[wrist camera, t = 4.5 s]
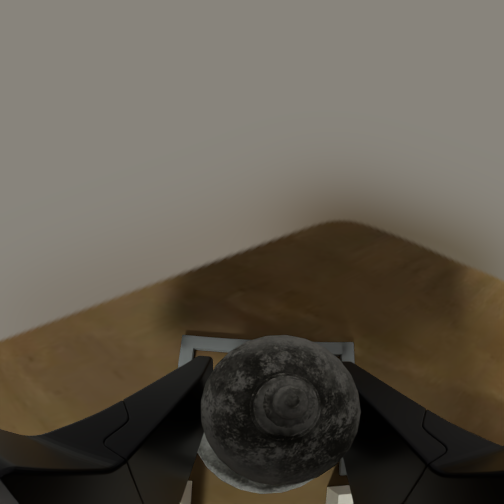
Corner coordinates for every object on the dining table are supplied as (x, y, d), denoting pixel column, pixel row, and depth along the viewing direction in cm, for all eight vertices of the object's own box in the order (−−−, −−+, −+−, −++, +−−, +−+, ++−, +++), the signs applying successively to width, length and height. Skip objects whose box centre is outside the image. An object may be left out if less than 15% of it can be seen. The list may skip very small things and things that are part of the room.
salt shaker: (273, 346, 16) (300, 157, 6) (349, 427, 13) (535, 377, 3) (181, 414, 14) (15, 343, 4) (257, 502, 11) (256, 650, 1)
